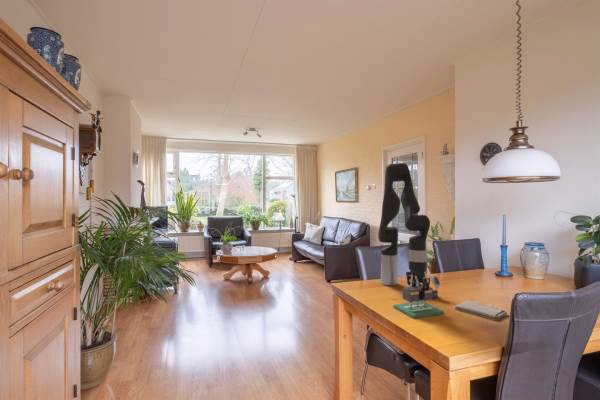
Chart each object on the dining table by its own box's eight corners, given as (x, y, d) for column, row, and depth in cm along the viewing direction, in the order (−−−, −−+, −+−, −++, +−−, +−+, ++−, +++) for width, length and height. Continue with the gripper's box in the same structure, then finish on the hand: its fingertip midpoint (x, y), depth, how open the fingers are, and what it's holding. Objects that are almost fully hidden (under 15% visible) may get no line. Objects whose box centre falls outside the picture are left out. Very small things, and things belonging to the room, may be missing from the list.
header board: (393, 307, 148) (393, 297, 147) (422, 303, 152) (422, 293, 152) (412, 318, 134) (412, 307, 134) (443, 313, 139) (443, 303, 139)
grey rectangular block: (409, 302, 139) (409, 290, 139) (402, 298, 144) (402, 287, 144) (432, 299, 143) (432, 287, 143) (425, 295, 147) (424, 285, 147)
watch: (436, 299, 158) (436, 277, 157) (421, 296, 163) (420, 274, 163) (441, 297, 161) (441, 275, 161) (426, 293, 167) (426, 272, 167)
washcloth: (497, 322, 130) (497, 315, 130) (453, 310, 144) (453, 303, 144) (508, 315, 138) (508, 308, 138) (465, 304, 152) (465, 298, 152)
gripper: (400, 257, 149) (400, 293, 149) (421, 263, 135) (421, 303, 135) (414, 256, 151) (414, 292, 151) (435, 262, 137) (436, 301, 137)
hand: (417, 297), depth 143 cm, fingers closed on grey rectangular block, 5 cm apart
